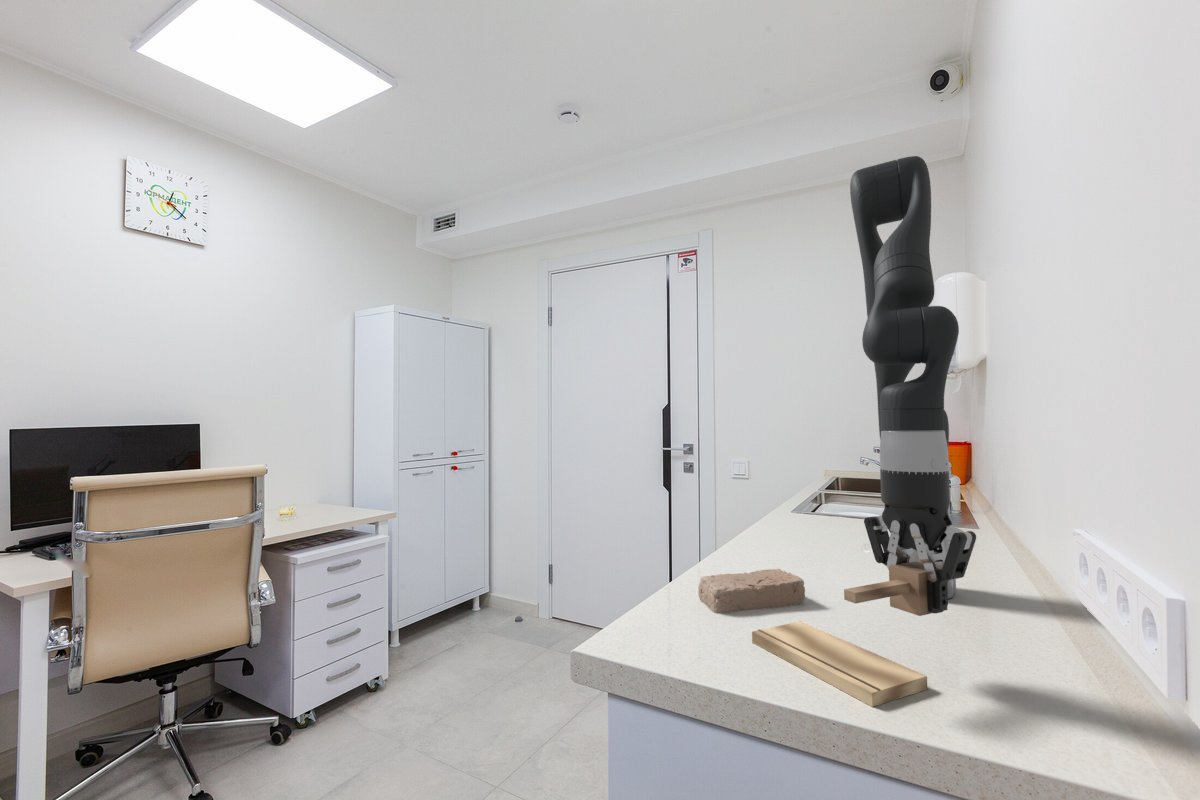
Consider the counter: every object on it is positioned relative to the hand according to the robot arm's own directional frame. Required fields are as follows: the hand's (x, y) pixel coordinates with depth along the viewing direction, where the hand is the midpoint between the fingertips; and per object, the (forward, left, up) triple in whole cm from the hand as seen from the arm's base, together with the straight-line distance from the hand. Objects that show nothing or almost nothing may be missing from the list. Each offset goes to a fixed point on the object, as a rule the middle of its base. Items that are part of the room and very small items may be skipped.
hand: (918, 605), depth 70 cm
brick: (+1, -31, -9) cm, 32 cm away
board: (+7, -7, -8) cm, 13 cm away
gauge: (+4, 0, 0) cm, 4 cm away
